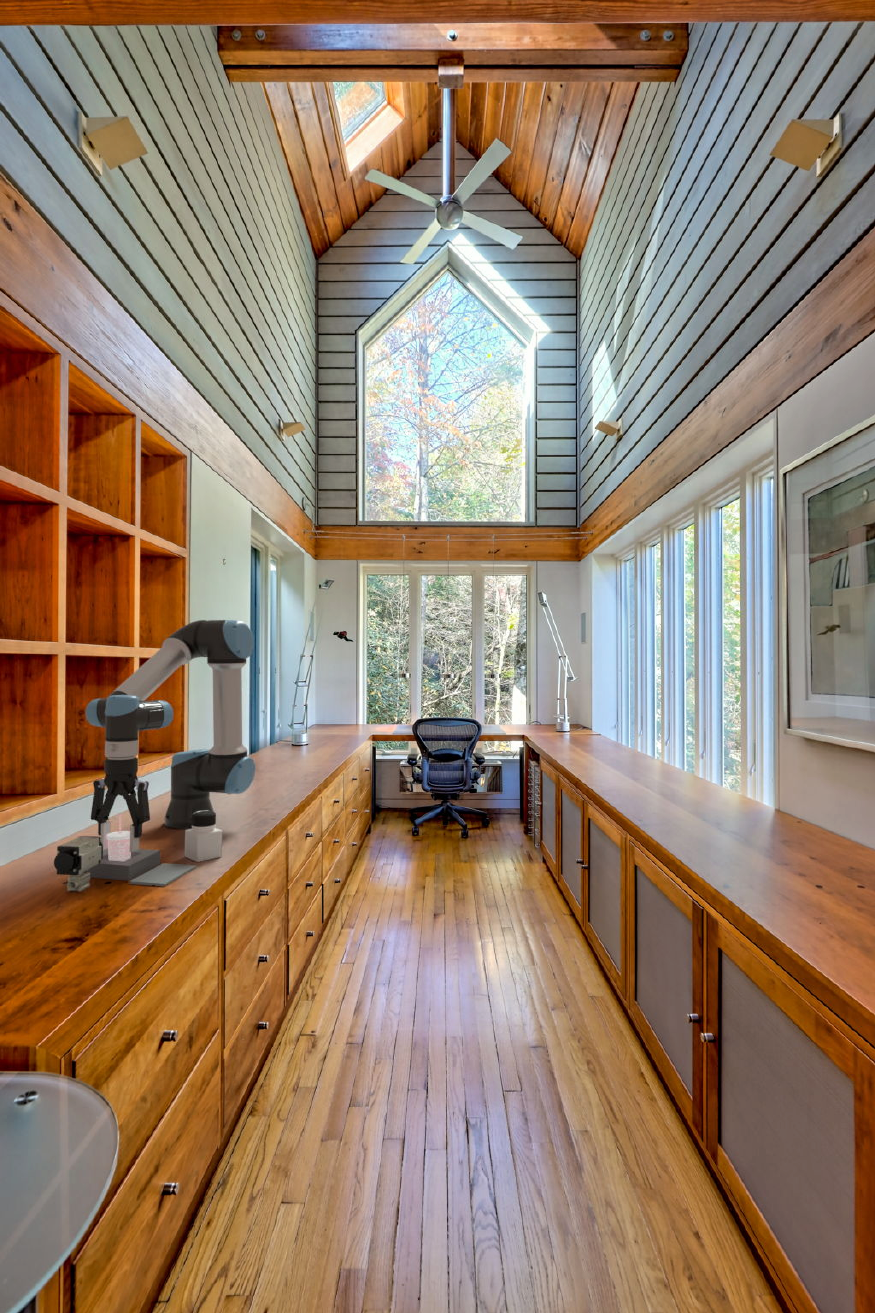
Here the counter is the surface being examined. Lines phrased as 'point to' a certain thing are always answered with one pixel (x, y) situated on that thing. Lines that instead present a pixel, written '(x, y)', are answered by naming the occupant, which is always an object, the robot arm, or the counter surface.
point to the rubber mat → (163, 874)
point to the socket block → (125, 865)
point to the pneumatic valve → (78, 860)
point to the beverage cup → (119, 844)
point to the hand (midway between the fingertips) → (119, 849)
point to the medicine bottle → (203, 837)
